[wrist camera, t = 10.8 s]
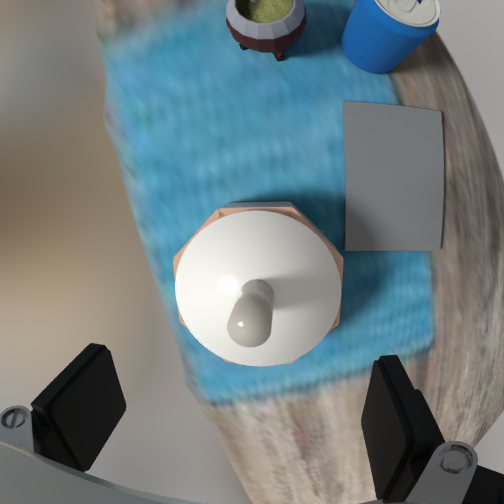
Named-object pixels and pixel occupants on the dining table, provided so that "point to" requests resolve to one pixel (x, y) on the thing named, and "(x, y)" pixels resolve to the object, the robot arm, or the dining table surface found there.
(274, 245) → the lid
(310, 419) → the dining table surface
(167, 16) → the dining table surface
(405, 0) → the beverage can
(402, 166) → the mat
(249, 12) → the mate gourd
